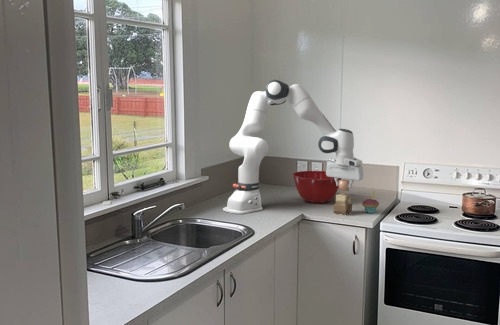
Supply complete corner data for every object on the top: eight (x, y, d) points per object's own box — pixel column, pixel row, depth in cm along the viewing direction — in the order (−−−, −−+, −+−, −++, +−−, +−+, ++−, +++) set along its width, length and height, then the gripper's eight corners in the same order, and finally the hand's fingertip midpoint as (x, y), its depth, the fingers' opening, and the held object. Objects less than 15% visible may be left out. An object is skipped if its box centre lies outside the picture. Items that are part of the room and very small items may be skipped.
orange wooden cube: (346, 191, 265) (346, 182, 264) (337, 190, 268) (337, 180, 267) (350, 189, 269) (351, 180, 268) (341, 188, 272) (342, 179, 271)
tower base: (345, 215, 265) (345, 206, 264) (333, 213, 269) (333, 204, 268) (351, 213, 270) (352, 203, 269) (340, 211, 275) (340, 201, 274)
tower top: (344, 205, 265) (345, 196, 264) (335, 204, 269) (335, 194, 268) (350, 204, 269) (350, 194, 268) (341, 202, 273) (341, 193, 272)
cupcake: (380, 211, 273) (381, 189, 271) (375, 215, 266) (376, 192, 264) (365, 209, 278) (366, 187, 276) (359, 212, 271) (360, 190, 269)
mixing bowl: (319, 193, 318) (319, 168, 315) (352, 202, 294) (353, 175, 292) (282, 198, 302) (282, 173, 300) (314, 208, 279) (314, 180, 276)
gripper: (323, 159, 270) (323, 185, 272) (359, 163, 257) (358, 190, 259) (330, 157, 274) (329, 183, 277) (365, 161, 262) (364, 188, 264)
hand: (343, 186), depth 268 cm, fingers closed on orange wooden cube, 5 cm apart
